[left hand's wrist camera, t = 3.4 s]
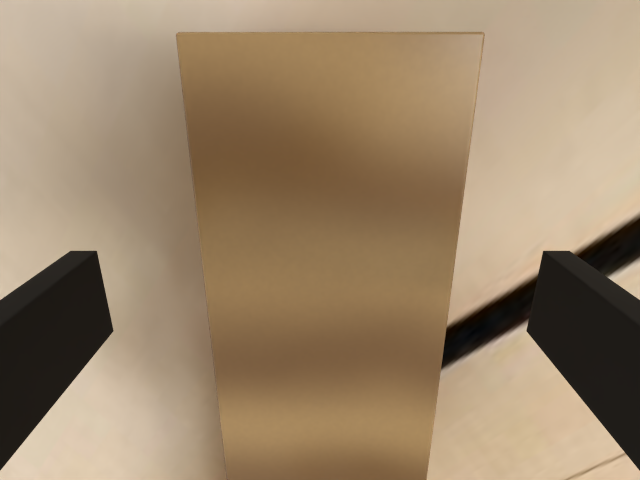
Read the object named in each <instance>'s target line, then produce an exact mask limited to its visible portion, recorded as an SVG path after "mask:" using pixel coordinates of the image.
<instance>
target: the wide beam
mask: <svg viewBox="0 0 640 480" xmlns="http://www.w3.org/2000/svg"><path fill="white" fill-rule="evenodd" d="M176 40H177V48H178V57H179V66H180V74H181V83H182V92H183V101H184V109H185V118H186V127H187V136H188V144H189V153H190V162H191V170H192V179H193V188H194V197H195V205H196V214H197V223H198V232H199V240H200V249H201V258H202V266H203V275H204V284H205V293H206V301H207V310H208V319H209V328H210V336H211V345H212V354H213V363H214V371H215V380H216V389H217V397H218V406H219V415H220V424H221V432H222V441H223V450H224V459H225V467H226V476H227V480H426V478H427V471H428V463H429V455H430V448H431V440H432V433H433V425H434V417H435V410H436V402H437V394H438V387H439V379H440V371H441V364H442V356H443V348H444V341H445V333H446V326H447V318H448V310H449V303H450V295H451V287H452V280H453V272H454V264H455V257H456V249H457V241H458V234H459V226H460V219H461V211H462V203H463V196H464V188H465V180H466V173H467V165H468V157H469V150H470V142H471V134H472V127H473V119H474V112H475V104H476V96H477V89H478V81H479V73H480V66H481V58H482V50H483V43H484V33H483V32H178V33H177V34H176Z"/></svg>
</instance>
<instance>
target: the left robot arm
mask: <svg viewBox="0 0 640 480" xmlns="http://www.w3.org/2000/svg"><path fill="white" fill-rule="evenodd" d="M112 332H113V327H112V322H111V317H110V312H109V308H108V303H107V298H106V293H105V288H104V284H103V279H102V274H101V269H100V264H99V260H98V255H97V251H70V252H68V253H67V254H66V255H64V256H63V257H61V258H60V259H58V260H57V261H56V262H54V263H53V264H51V265H50V266H48V267H47V268H46V269H44V270H43V271H41V272H40V273H38V274H37V275H36V276H34V277H33V278H31V279H30V280H28V281H27V282H26V283H24V284H23V285H21V286H20V287H18V288H17V289H16V290H14V291H13V292H11V293H10V294H8V295H7V296H6V297H4V298H3V299H1V300H0V470H1V469H2V468H3V466H4V465H5V464H6V463H7V462H8V460H9V459H10V458H11V457H12V455H13V454H14V453H15V452H16V450H17V449H18V448H19V447H20V446H21V444H22V443H23V442H24V441H25V439H26V438H27V437H28V436H29V434H30V433H31V432H32V431H33V429H34V428H35V427H36V426H37V425H38V423H39V422H40V421H41V420H42V418H43V417H44V416H45V415H46V413H47V412H48V411H49V410H50V409H51V407H52V406H53V405H54V404H55V402H56V401H57V400H58V399H59V397H60V396H61V395H62V394H63V393H64V391H65V390H66V389H67V388H68V386H69V385H70V384H71V383H72V381H73V380H74V379H75V378H76V377H77V375H78V374H79V373H80V372H81V370H82V369H83V368H84V367H85V365H86V364H87V363H88V362H89V360H90V359H91V358H92V357H93V356H94V354H95V353H96V352H97V351H98V349H99V348H100V347H101V346H102V344H103V343H104V342H105V341H106V340H107V338H108V337H109V336H110V335H111V333H112ZM527 332H528V333H529V335H530V336H531V337H532V338H533V340H534V341H535V342H536V343H537V344H538V346H539V347H540V348H541V349H542V351H543V352H544V353H545V354H546V356H547V357H548V358H549V359H550V360H551V362H552V363H553V364H554V365H555V367H556V368H557V369H558V370H559V372H560V373H561V374H562V375H563V377H564V378H565V379H566V380H567V381H568V383H569V384H570V385H571V386H572V388H573V389H574V390H575V391H576V393H577V394H578V395H579V396H580V397H581V399H582V400H583V401H584V402H585V404H586V405H587V406H588V407H589V409H590V410H591V411H592V412H593V413H594V415H595V416H596V417H597V418H598V420H599V421H600V422H601V423H602V425H603V426H604V427H605V428H606V429H607V431H608V432H609V433H610V434H611V436H612V437H613V438H614V439H615V441H616V442H617V443H618V444H619V446H620V447H621V448H622V449H623V450H624V452H625V453H626V454H627V455H628V457H629V458H630V459H631V460H632V462H633V463H634V464H635V465H636V466H637V468H638V469H639V470H640V300H639V299H637V298H636V297H634V296H633V295H632V294H630V293H629V292H627V291H626V290H624V289H623V288H622V287H620V286H619V285H617V284H616V283H614V282H613V281H612V280H610V279H609V278H607V277H606V276H604V275H603V274H602V273H600V272H599V271H597V270H596V269H594V268H593V267H592V266H590V265H589V264H587V263H586V262H584V261H583V260H582V259H580V258H579V257H577V256H576V255H574V254H573V253H572V252H570V251H543V255H542V260H541V264H540V269H539V274H538V279H537V284H536V288H535V293H534V298H533V303H532V308H531V312H530V317H529V322H528V327H527Z"/></svg>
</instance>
